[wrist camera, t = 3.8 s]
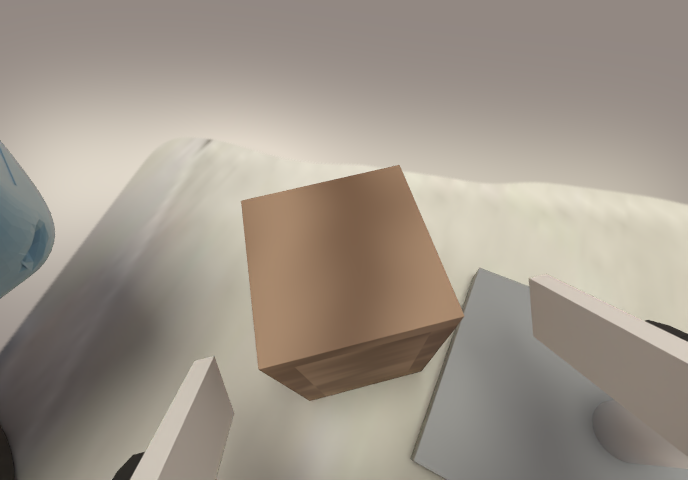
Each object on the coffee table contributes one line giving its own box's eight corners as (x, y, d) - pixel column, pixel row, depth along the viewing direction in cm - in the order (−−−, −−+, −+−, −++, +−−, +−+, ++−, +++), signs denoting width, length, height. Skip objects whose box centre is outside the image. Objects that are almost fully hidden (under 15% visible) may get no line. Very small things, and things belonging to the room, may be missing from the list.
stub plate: (410, 459, 19) (434, 472, 12) (473, 276, 24) (515, 212, 17) (832, 697, 14) (1287, 954, 7) (798, 403, 19) (1041, 384, 12)
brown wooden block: (310, 400, 20) (258, 369, 11) (292, 294, 24) (241, 200, 14) (421, 371, 21) (464, 316, 11) (387, 270, 24) (399, 165, 15)
